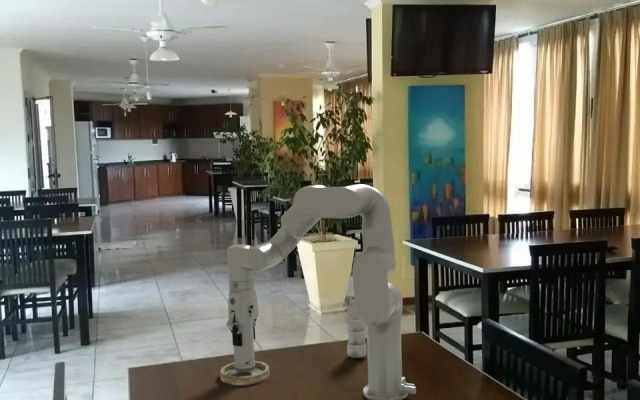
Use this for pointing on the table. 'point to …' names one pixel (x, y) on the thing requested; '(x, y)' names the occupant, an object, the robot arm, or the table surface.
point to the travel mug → (245, 348)
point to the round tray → (244, 374)
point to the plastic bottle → (355, 333)
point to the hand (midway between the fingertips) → (244, 341)
